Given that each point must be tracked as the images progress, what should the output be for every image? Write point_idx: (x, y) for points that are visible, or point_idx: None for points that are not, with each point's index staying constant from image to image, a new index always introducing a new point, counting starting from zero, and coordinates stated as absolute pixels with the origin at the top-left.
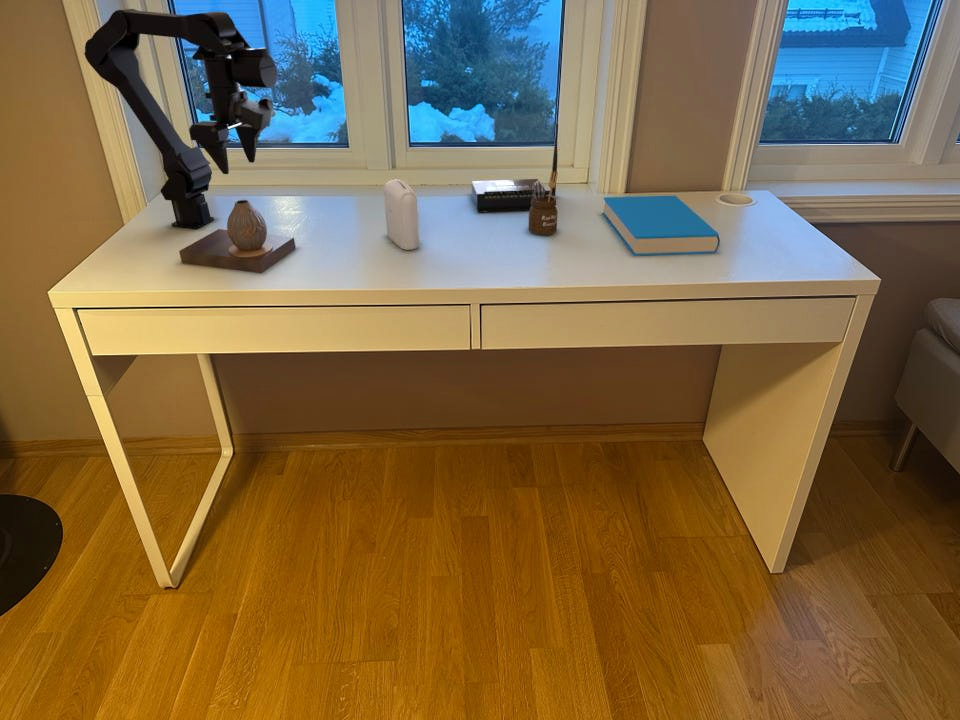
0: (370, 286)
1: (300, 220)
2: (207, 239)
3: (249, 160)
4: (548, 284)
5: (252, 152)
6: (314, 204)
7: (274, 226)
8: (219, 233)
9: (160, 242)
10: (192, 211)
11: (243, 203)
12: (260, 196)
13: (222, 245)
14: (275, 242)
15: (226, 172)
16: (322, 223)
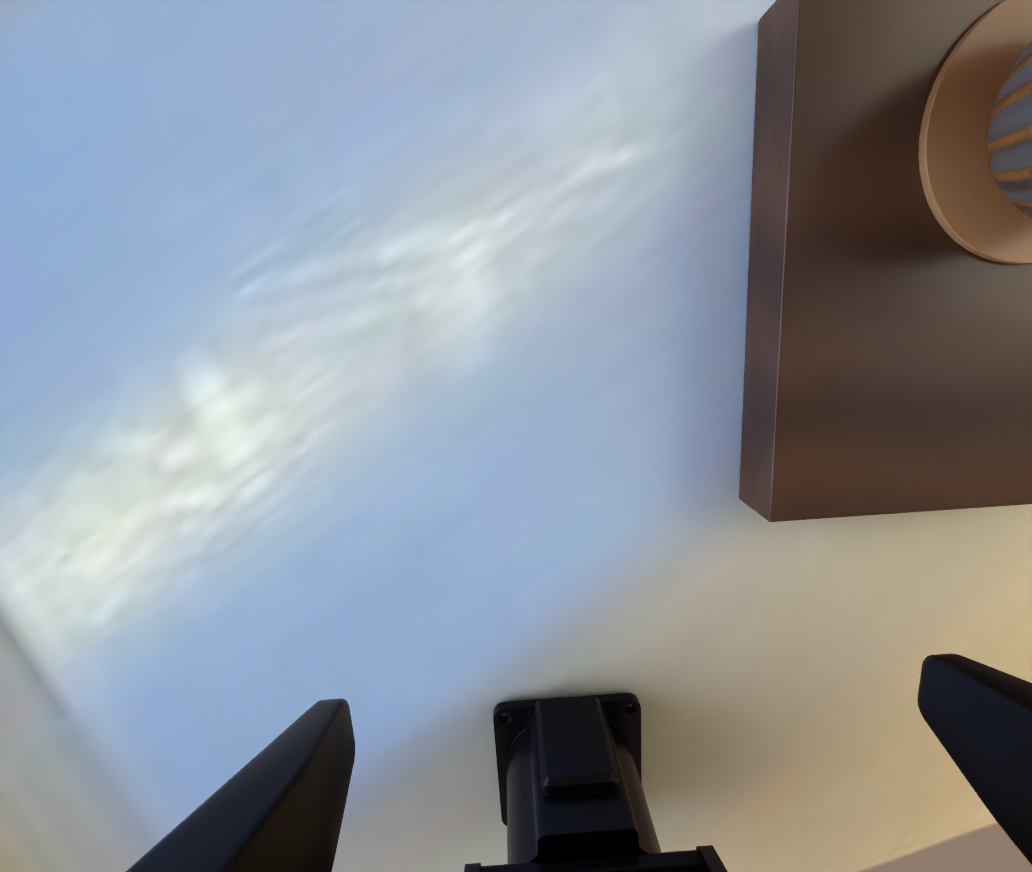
0: None
1: (320, 286)
2: (932, 473)
3: (346, 763)
4: None
5: (287, 816)
6: (34, 373)
7: (466, 372)
8: (833, 473)
9: (818, 721)
10: (627, 780)
11: None
12: (86, 726)
13: (1009, 335)
14: (916, 42)
15: (975, 671)
16: (309, 116)
